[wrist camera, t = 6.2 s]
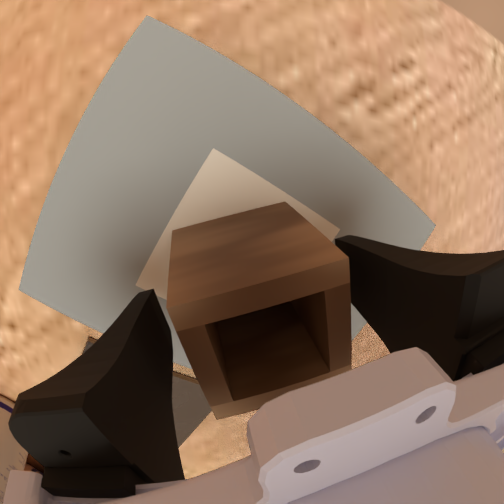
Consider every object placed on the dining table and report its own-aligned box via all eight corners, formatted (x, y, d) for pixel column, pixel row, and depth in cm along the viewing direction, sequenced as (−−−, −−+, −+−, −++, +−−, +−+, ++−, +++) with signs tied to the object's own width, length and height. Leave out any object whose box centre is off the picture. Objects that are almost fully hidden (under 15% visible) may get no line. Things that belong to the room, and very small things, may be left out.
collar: (285, 201, 14) (348, 257, 8) (299, 296, 16) (350, 378, 11) (172, 230, 13) (166, 307, 8) (202, 323, 16) (216, 419, 10)
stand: (225, 388, 19) (232, 423, 17) (169, 453, 21) (171, 482, 19) (89, 336, 16) (77, 371, 13) (60, 416, 18) (53, 447, 15)
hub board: (425, 219, 17) (471, 245, 14) (293, 390, 20) (312, 434, 17) (149, 22, 11) (137, -12, 7) (25, 280, 14) (-6, 323, 10)
